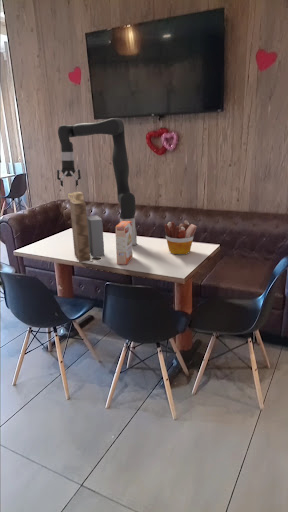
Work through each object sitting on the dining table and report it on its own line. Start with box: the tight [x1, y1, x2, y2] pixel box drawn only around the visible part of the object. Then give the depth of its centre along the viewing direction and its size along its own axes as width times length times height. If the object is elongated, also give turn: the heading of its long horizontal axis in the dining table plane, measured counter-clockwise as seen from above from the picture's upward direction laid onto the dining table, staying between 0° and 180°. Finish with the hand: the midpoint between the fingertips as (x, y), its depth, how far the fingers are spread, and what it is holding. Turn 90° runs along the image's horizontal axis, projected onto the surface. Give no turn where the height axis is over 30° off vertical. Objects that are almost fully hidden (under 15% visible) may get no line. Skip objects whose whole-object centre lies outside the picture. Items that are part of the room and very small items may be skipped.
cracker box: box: [115, 221, 134, 266], centre depth 196 cm, size 14×6×21 cm, turn 168°
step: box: [87, 215, 105, 259], centre depth 209 cm, size 6×12×22 cm, turn 21°
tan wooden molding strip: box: [67, 191, 85, 204], centre depth 200 cm, size 4×24×5 cm, turn 21°
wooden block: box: [69, 199, 91, 263], centre depth 201 cm, size 6×14×32 cm, turn 21°
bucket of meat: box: [163, 220, 198, 255], centre depth 207 cm, size 20×16×20 cm
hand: (69, 186), depth 227 cm, fingers open, 8 cm apart
